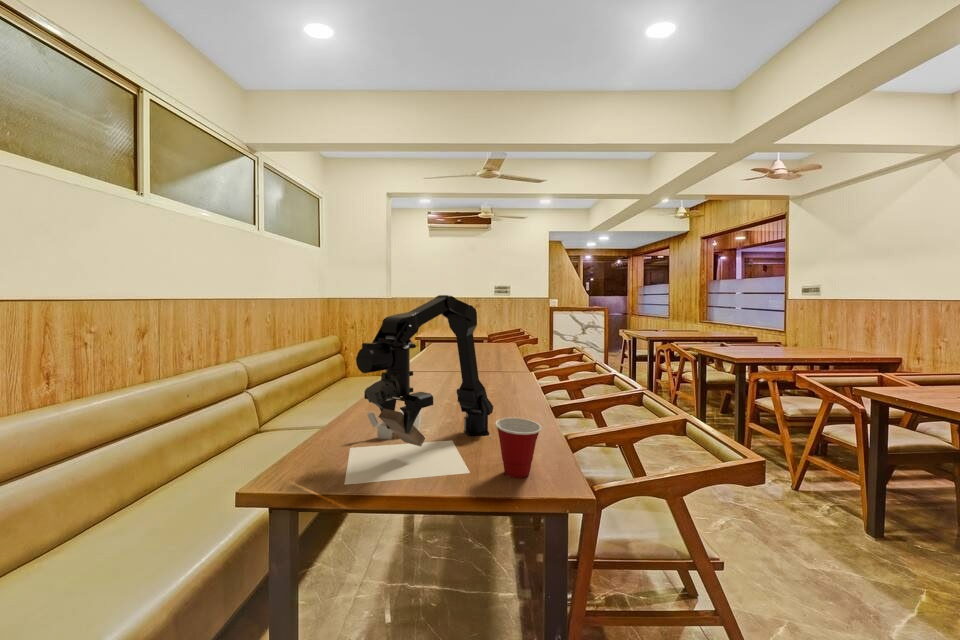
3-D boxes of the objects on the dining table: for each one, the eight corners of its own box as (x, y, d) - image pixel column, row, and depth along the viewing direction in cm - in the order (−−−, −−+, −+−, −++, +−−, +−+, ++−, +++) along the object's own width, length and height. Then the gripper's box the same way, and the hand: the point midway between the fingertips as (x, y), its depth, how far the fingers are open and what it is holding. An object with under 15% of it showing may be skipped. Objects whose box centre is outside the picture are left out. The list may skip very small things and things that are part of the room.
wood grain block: (409, 433, 113) (384, 407, 106) (425, 437, 109) (401, 411, 102) (404, 441, 111) (378, 416, 104) (420, 446, 108) (395, 420, 101)
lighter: (392, 438, 126) (392, 411, 126) (391, 440, 124) (391, 413, 124) (369, 437, 126) (369, 411, 126) (367, 439, 125) (367, 412, 124)
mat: (452, 441, 123) (452, 440, 123) (470, 474, 100) (470, 472, 100) (350, 449, 117) (350, 447, 117) (344, 486, 93) (344, 484, 93)
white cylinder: (425, 431, 133) (425, 409, 133) (413, 437, 127) (413, 414, 126) (407, 428, 136) (407, 406, 136) (394, 434, 130) (394, 411, 129)
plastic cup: (528, 487, 93) (529, 433, 93) (486, 476, 99) (486, 425, 98) (548, 471, 102) (549, 421, 102) (508, 461, 108) (508, 414, 108)
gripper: (346, 368, 104) (346, 432, 105) (400, 376, 93) (400, 447, 94) (381, 362, 113) (382, 421, 114) (434, 369, 102) (434, 434, 103)
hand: (398, 430), depth 106 cm, fingers closed on wood grain block, 6 cm apart
